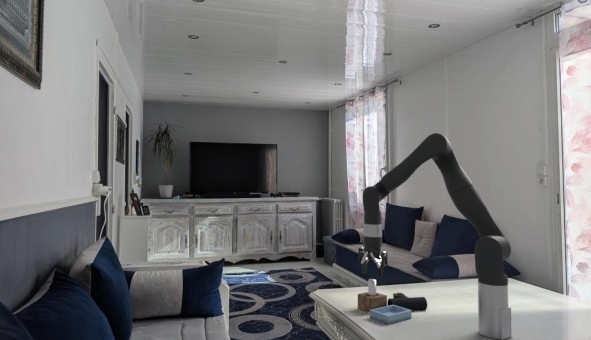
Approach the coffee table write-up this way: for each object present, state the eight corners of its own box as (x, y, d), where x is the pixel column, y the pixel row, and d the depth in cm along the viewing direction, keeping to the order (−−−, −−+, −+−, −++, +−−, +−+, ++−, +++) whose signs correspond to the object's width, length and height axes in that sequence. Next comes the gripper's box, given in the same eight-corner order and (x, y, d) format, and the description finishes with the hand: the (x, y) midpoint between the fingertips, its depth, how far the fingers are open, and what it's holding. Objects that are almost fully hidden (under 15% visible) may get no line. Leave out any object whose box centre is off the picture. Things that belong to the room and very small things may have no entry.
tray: (411, 318, 152) (411, 310, 152) (388, 324, 145) (388, 316, 145) (393, 312, 160) (393, 304, 160) (370, 318, 152) (370, 310, 152)
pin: (377, 310, 162) (377, 280, 163) (372, 311, 160) (372, 281, 161) (372, 308, 165) (372, 278, 165) (366, 309, 163) (366, 279, 164)
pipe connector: (381, 292, 171) (413, 290, 174) (380, 304, 171) (413, 303, 174) (392, 300, 160) (427, 298, 163) (392, 313, 160) (427, 311, 163)
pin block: (386, 310, 162) (386, 295, 162) (372, 314, 157) (372, 298, 157) (371, 305, 168) (371, 291, 169) (357, 308, 164) (357, 293, 164)
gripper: (392, 236, 161) (392, 277, 160) (366, 232, 172) (366, 271, 171) (379, 237, 156) (378, 279, 156) (353, 233, 168) (353, 272, 167)
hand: (372, 275), depth 164 cm, fingers open, 8 cm apart
